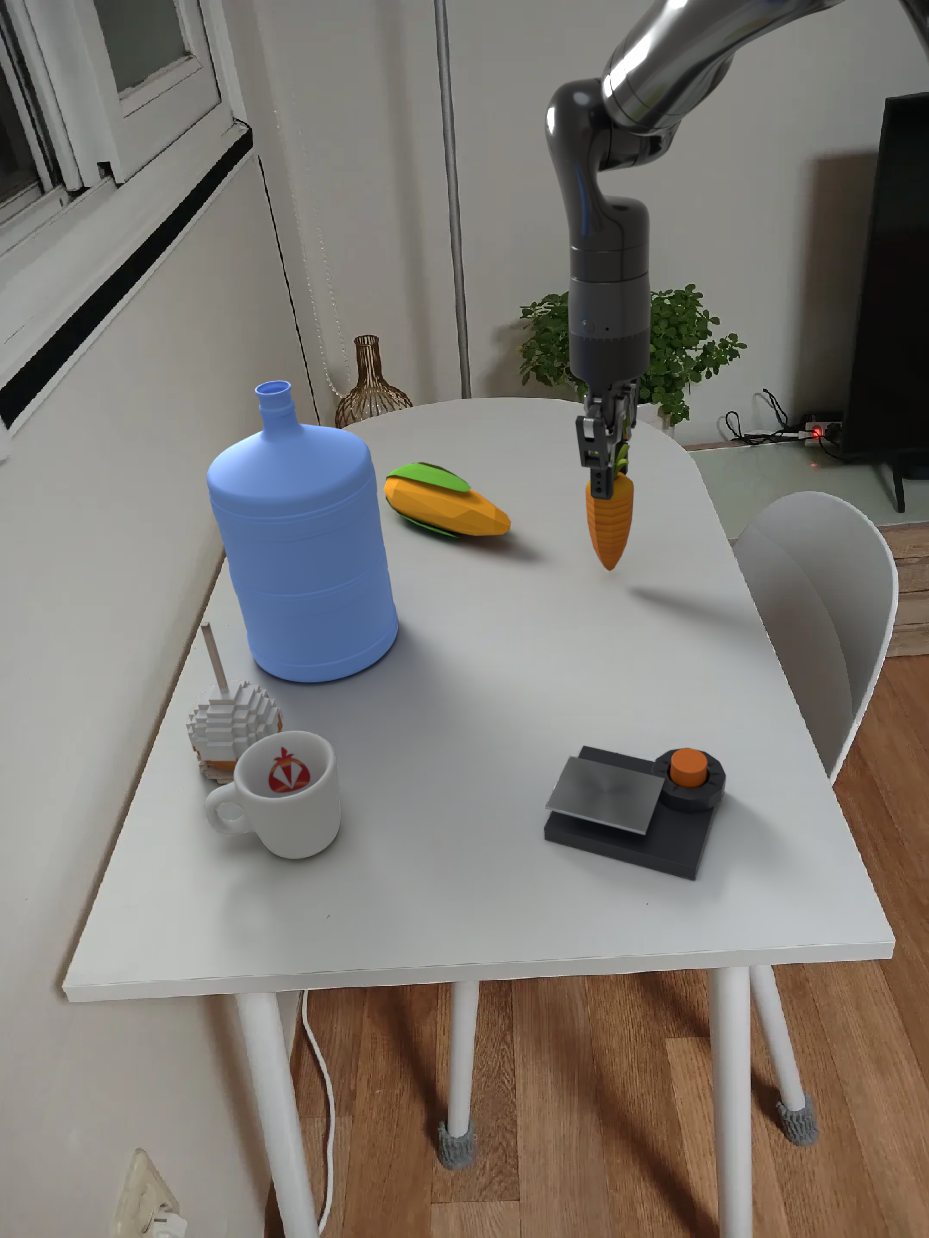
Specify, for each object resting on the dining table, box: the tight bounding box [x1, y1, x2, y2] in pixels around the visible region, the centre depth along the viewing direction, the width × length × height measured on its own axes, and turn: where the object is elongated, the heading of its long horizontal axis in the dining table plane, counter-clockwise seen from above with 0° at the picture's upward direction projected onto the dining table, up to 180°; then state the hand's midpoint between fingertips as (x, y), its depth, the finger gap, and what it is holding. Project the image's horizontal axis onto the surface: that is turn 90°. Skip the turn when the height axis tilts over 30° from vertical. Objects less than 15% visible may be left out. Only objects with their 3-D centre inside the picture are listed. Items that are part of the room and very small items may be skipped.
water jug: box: [206, 380, 399, 683], centre depth 92 cm, size 16×16×28 cm
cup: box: [204, 730, 342, 860], centre depth 76 cm, size 11×8×8 cm
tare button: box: [670, 747, 707, 788], centre depth 76 cm, size 3×3×2 cm
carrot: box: [585, 443, 635, 572], centre depth 100 cm, size 5×5×15 cm
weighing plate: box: [544, 755, 665, 835], centre depth 75 cm, size 8×6×1 cm
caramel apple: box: [185, 621, 284, 784], centre depth 82 cm, size 8×8×15 cm
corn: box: [383, 461, 512, 539], centre depth 116 cm, size 7×8×20 cm
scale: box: [543, 745, 727, 881], centre depth 77 cm, size 12×11×3 cm
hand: (609, 485), depth 98 cm, fingers closed on carrot, 4 cm apart
